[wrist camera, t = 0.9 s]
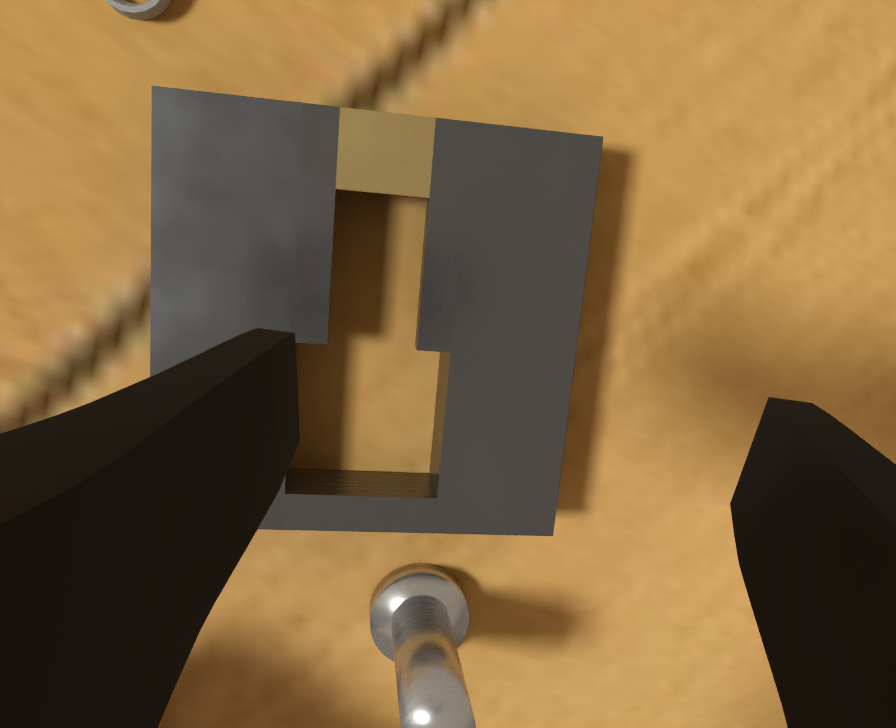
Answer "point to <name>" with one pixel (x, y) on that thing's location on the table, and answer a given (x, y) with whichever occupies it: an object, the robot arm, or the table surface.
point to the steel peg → (424, 644)
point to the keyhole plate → (440, 298)
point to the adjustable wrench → (140, 8)
